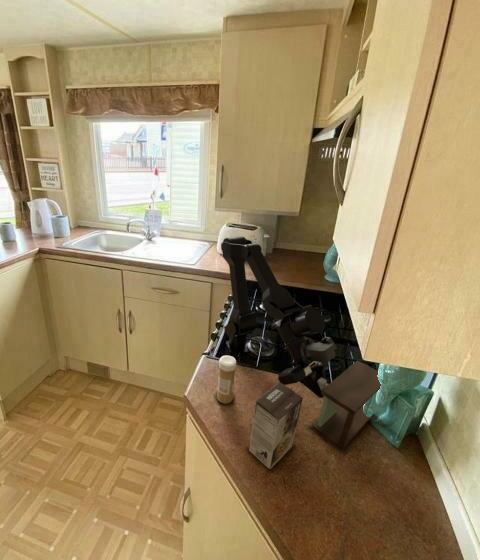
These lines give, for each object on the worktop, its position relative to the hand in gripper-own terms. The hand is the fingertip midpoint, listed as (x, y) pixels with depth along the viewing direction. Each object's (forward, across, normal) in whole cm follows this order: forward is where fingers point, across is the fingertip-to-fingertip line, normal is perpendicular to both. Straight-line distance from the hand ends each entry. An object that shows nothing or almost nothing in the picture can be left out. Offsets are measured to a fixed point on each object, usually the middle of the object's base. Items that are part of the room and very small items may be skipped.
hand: (324, 395), depth 80 cm
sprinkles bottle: (-9, -15, +20) cm, 26 cm away
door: (+4, 0, +4) cm, 6 cm away
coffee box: (+4, -18, +7) cm, 20 cm away
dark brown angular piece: (+9, +4, +2) cm, 10 cm away
